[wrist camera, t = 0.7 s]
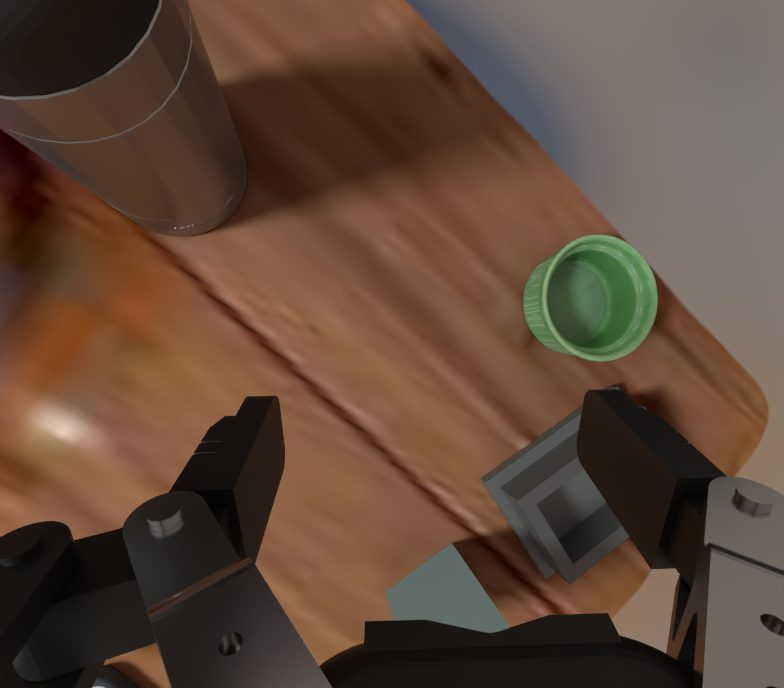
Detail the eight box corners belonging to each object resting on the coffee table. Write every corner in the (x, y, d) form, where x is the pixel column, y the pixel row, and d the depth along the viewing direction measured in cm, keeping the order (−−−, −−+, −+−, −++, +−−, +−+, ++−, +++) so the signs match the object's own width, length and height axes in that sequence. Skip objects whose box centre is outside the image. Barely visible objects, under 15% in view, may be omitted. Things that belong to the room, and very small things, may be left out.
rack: (480, 478, 34) (502, 495, 30) (609, 385, 36) (645, 390, 32) (539, 572, 35) (568, 601, 31) (663, 476, 37) (704, 492, 33)
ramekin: (536, 375, 35) (567, 379, 31) (499, 267, 35) (525, 256, 30) (632, 338, 36) (674, 336, 32) (598, 233, 36) (636, 217, 32)
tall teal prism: (385, 591, 33) (429, 747, 20) (451, 542, 34) (534, 662, 21) (410, 628, 33) (469, 806, 20) (475, 579, 34) (571, 720, 21)
